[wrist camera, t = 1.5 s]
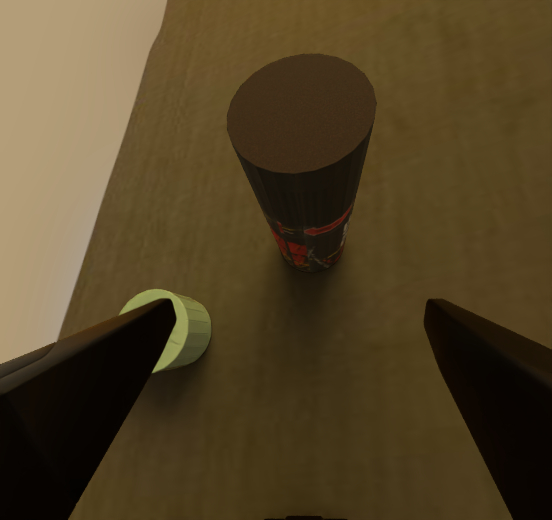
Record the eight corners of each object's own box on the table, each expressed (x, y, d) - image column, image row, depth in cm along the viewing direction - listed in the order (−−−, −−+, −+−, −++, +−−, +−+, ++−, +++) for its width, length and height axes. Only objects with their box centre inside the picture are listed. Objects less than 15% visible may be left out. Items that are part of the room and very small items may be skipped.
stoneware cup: (188, 284, 25) (162, 273, 21) (224, 335, 23) (203, 334, 19) (115, 345, 25) (73, 347, 21) (146, 403, 23) (106, 418, 18)
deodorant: (282, 213, 26) (235, 61, 12) (343, 212, 25) (373, 45, 11) (278, 271, 24) (217, 176, 10) (343, 273, 23) (379, 170, 9)
